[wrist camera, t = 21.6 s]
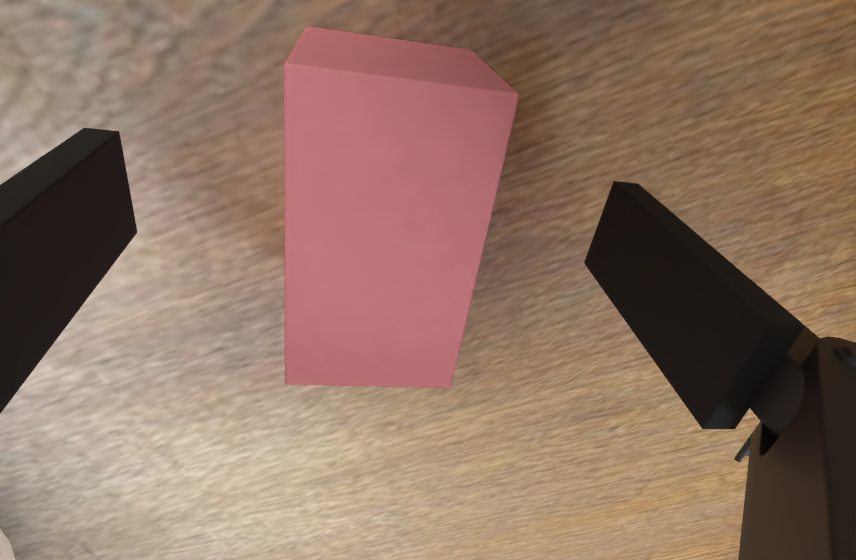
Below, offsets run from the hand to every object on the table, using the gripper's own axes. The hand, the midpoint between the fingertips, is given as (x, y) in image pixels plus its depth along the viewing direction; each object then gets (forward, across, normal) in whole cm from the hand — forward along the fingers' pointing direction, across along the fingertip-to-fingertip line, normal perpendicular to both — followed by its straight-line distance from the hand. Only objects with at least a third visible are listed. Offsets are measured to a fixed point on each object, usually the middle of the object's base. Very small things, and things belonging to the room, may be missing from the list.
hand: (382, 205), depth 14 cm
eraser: (+2, 0, 0) cm, 2 cm away
